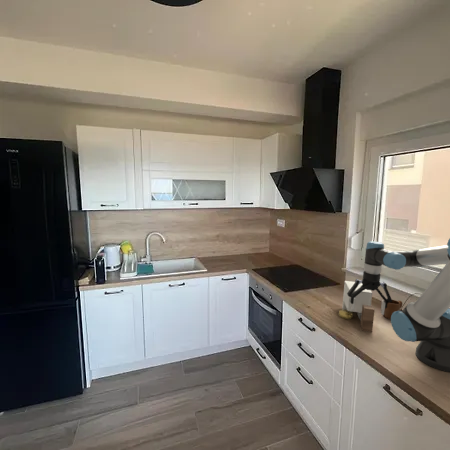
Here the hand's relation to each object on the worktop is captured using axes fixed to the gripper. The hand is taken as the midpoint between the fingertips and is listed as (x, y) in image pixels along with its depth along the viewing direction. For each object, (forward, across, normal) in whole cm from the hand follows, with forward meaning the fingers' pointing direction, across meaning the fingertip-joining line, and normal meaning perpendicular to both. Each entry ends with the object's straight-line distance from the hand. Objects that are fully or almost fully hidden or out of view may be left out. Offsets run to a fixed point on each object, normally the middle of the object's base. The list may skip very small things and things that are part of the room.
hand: (367, 311), depth 132 cm
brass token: (+10, +8, -12) cm, 17 cm away
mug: (+10, -19, -20) cm, 30 cm away
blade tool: (+9, 0, -7) cm, 12 cm away
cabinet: (+10, +2, -14) cm, 18 cm away
